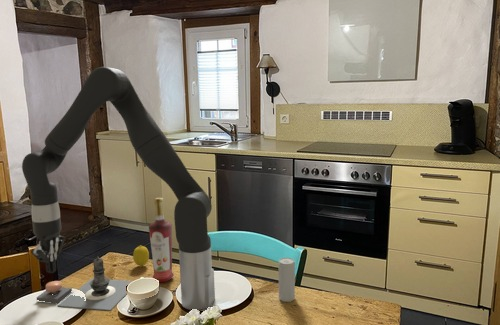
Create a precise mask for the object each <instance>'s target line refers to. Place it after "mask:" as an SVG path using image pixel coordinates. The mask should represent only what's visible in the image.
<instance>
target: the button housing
mask: <svg viewBox="0 0 500 325" xmlns="http://www.w3.org/2000/svg"><path fill="white" fill-rule="evenodd" d="M71 291H72V292H73V288H72V287H66V286H65V287H63V286H62V288H61V289H60V290H58V293H56V294H57V295H55V294H54V295H52V294H51V292H47V291H46V290H45V291H43V292H42V293H41V294H39V295H38V296H36V301H37V300H39V301H45V302H51V303H50V304H56V303H57V304H58V305H59V304H60V303H61V302H63V301H64V300H65V299H66V298H67V297H68V296H69V295H70V294H69V293H70V292H71ZM68 294H69V295H68ZM67 295H68V296H67ZM66 296H67V297H66ZM65 297H66V298H65ZM60 301H61V302H60Z"/></svg>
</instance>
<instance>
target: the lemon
mask: <svg viewBox="0 0 500 325" xmlns="http://www.w3.org/2000/svg"><path fill="white" fill-rule="evenodd" d="M132 257H133V262H134V263H135V264H136V265H137V266H140V267H141V268H142V267H143V266H144V265H146V264H147V263H148V262H149V260H150V252H149V250H148V248H147V247H146V246H143V245H138V246H137V247H136V248H134V250H133V254H132Z"/></svg>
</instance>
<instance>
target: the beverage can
mask: <svg viewBox="0 0 500 325" xmlns="http://www.w3.org/2000/svg"><path fill="white" fill-rule="evenodd" d="M295 266H296V262H295V259H293V258H291V257H282V258H279V259H278V299H279V300H280V301H282V302H284V303H290V302H293V301H294V299H295V297H296V295H295V293H296V292H295V291H296V288H295V287H296V286H295V285H296V284H295V283H296V282H295V281H296V278H295V277H296V267H295Z"/></svg>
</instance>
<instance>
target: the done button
mask: <svg viewBox="0 0 500 325" xmlns="http://www.w3.org/2000/svg"><path fill="white" fill-rule="evenodd" d="M62 287H63V285H62V281H61V280H54V281H53V280H52V281H49V282H47V283H46V284H45V291H47V292H51V294H54V295H55V294H56V293H58V290H60V289H61V288H62Z"/></svg>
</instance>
